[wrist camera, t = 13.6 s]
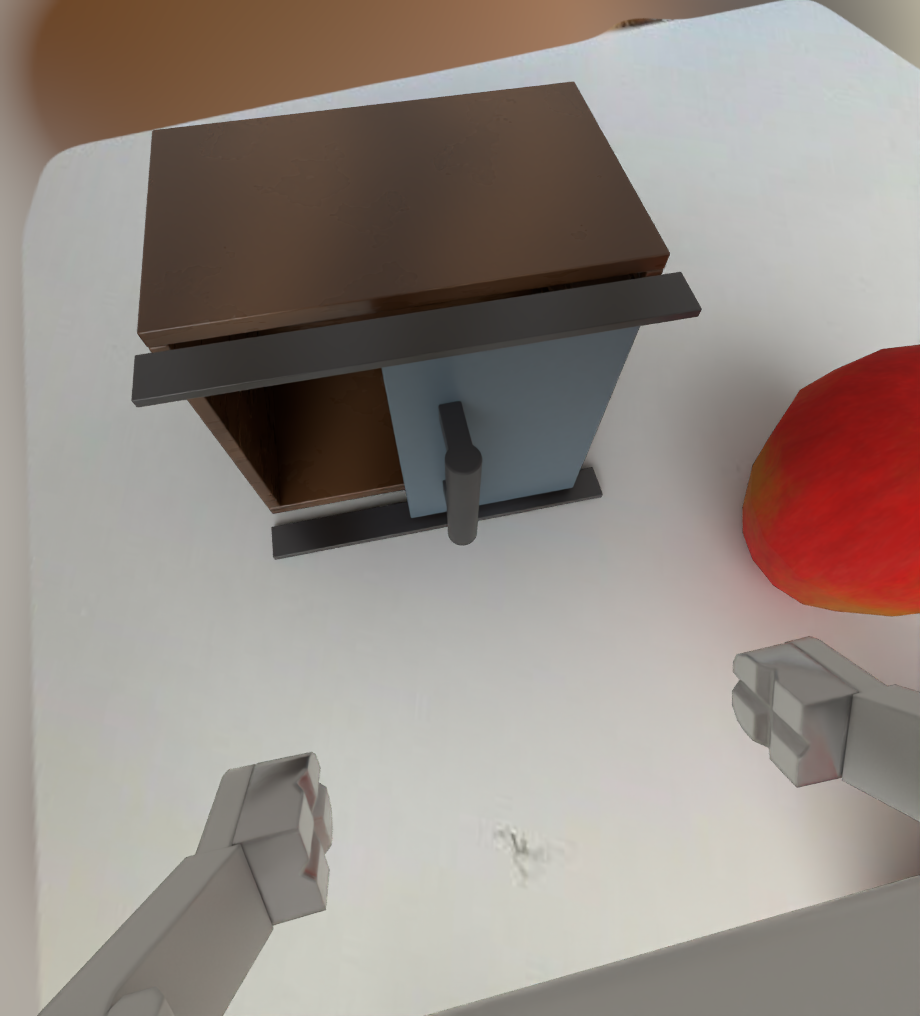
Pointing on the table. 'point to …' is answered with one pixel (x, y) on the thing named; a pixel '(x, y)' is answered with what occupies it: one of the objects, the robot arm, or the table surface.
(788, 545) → the apple
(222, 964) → the robot arm
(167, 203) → the closet
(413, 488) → the closet door
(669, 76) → the table surface
